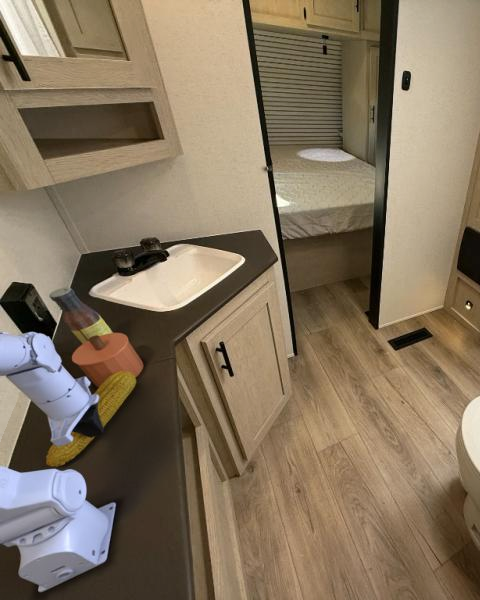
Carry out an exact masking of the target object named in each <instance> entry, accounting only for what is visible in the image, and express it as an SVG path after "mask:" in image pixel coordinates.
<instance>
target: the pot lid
mask: <svg viewBox="0 0 480 600" xmlns="http://www.w3.org/2000/svg"><path fill="white" fill-rule="evenodd" d="M128 342H129V343H130V341H129V337H128V336H127V335H126V334H124V333H121V332H113V333H109V334H105V335H101V336H98V335H96V336H92V337H90V338H89V339H88V341H87V342H86V343H84V344H82V343H81V345H80V346H79V347H77V348H76V349H75V350H74V352H73V353H72V356H71V360H72V362H73V363H74V364H75V365H77V366H78V365H81V366H88V365H94V364H98V363H101V362H104V361H107V360H109V359H111V358H113V357H114V356H116V355H118V354H119V353H120V352H122V351H123V350H124V349H125V348H126V346H127V345H128Z"/></svg>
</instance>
